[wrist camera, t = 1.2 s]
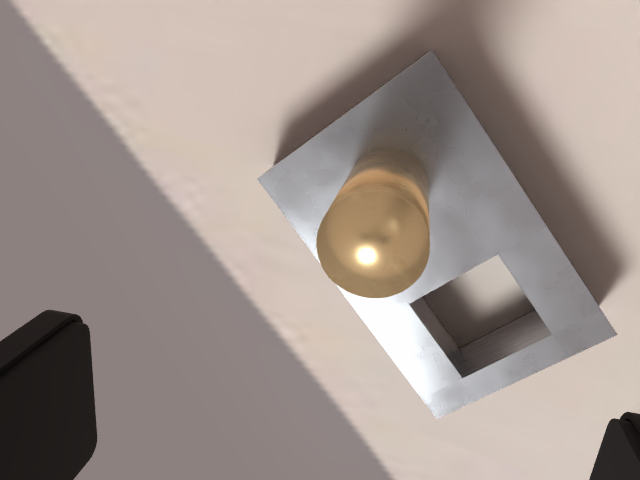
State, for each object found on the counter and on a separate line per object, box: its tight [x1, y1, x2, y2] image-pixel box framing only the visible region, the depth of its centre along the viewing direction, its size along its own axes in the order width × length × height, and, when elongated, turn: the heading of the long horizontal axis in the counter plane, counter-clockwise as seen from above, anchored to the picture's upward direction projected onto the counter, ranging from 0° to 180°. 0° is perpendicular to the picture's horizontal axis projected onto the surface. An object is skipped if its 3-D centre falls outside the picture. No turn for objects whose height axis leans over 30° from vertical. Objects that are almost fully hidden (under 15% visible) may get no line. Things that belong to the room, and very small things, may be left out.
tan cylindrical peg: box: [316, 148, 430, 298], centre depth 22 cm, size 4×4×8 cm
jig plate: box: [258, 50, 617, 419], centre depth 28 cm, size 16×10×3 cm, turn 37°
